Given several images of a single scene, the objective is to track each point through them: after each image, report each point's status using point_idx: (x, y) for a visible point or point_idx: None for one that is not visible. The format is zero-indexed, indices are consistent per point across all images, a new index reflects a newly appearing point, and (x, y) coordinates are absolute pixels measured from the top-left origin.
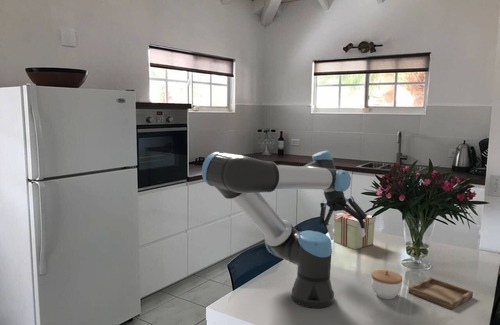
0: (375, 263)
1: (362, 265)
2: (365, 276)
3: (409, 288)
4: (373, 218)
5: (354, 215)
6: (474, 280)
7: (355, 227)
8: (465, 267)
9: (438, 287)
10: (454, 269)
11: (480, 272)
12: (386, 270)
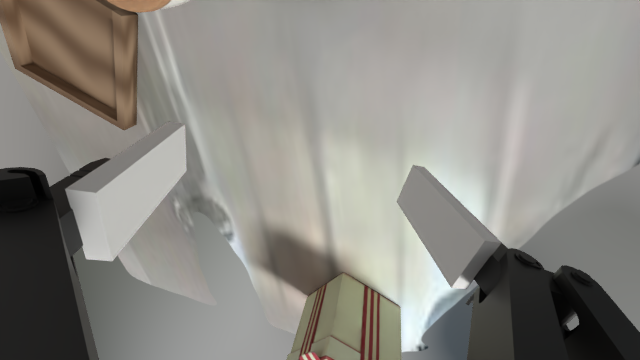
0: (280, 205)
1: (308, 184)
2: (284, 103)
3: (122, 15)
4: None
5: (7, 278)
6: None
7: (333, 335)
8: None
9: (100, 90)
10: None
11: None
12: (137, 1)
